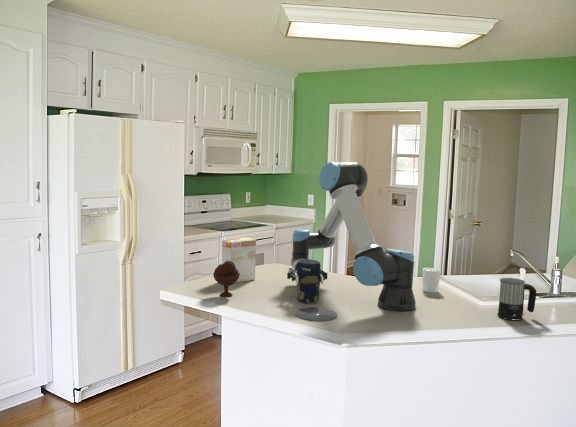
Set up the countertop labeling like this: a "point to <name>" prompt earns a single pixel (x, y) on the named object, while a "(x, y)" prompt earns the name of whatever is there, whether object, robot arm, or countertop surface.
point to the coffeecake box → (241, 256)
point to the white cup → (430, 279)
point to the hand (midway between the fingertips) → (310, 280)
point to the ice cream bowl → (226, 276)
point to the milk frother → (514, 298)
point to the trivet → (316, 314)
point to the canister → (308, 281)
